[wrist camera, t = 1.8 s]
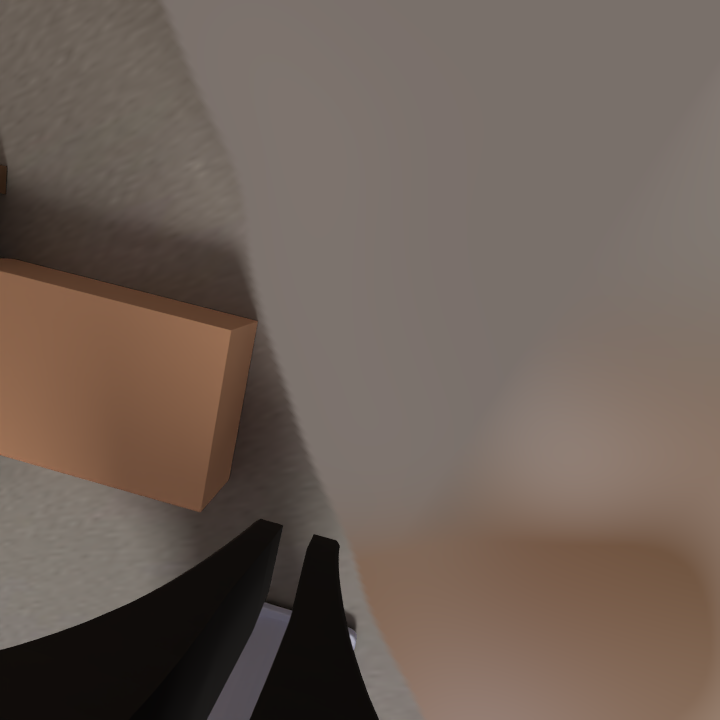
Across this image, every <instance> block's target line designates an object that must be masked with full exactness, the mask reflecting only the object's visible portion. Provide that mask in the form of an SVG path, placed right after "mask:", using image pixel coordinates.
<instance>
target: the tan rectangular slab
mask: <svg viewBox="0 0 720 720" xmlns="http://www.w3.org/2000/svg"><path fill="white" fill-rule="evenodd" d="M257 323H258V321H255V320H251V319H247V318H244V317H240V316H236V315H232V314H228V313H224V312H220V311H216V310H212V309H208V308H204V307H200V306H196V305H193V304H189V303H185V302H181V301H177V300H173V299H169V298H165V297H161V296H157V295H153V294H149V293H145V292H142V291H138V290H134V289H130V288H126V287H122V286H118V285H114V284H110V283H106V282H102V281H98V280H94V279H90V278H87V277H83V276H79V275H75V274H71V273H67V272H63V271H59V270H55V269H51V268H47V267H43V266H39V265H36V264H32V263H28V262H24V261H20V260H16V259H5V258H0V455H2V456H5V457H9V458H12V459H16V460H19V461H23V462H26V463H30V464H33V465H37V466H40V467H44V468H47V469H51V470H54V471H58V472H61V473H65V474H68V475H72V476H75V477H79V478H82V479H86V480H89V481H93V482H96V483H100V484H103V485H107V486H110V487H114V488H117V489H121V490H124V491H127V492H131V493H134V494H138V495H141V496H145V497H148V498H152V499H155V500H159V501H162V502H166V503H169V504H173V505H176V506H180V507H183V508H187V509H190V510H194V511H197V512H201V511H202V510H203V509H204V508H205V507H206V505H207V504H208V503H209V502H210V501H211V500H212V499H213V497H214V496H215V495H216V494H217V493H218V492H219V491H220V489H221V488H222V487H223V486H224V485H225V484H226V482H227V481H228V480H229V477H230V471H231V466H232V460H233V455H234V450H235V444H236V439H237V433H238V428H239V422H240V417H241V411H242V406H243V400H244V395H245V389H246V384H247V378H248V373H249V367H250V362H251V356H252V351H253V345H254V340H255V334H256V329H257Z"/></svg>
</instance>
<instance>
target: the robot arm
mask: <svg viewBox="0 0 720 720" xmlns="http://www.w3.org/2000/svg"><path fill="white" fill-rule="evenodd" d="M282 528H283V525H280V524H277V523H273V522H270V521H266V520H263V519H260V520H258V521H256V522H255V523H253V524H252V525H251V526H250V527H248V528H247V529H246V530H245V531H243V532H242V533H241V534H240V535H238V536H237V537H236V538H234V539H233V540H232V541H230V542H229V543H228V544H226V545H225V546H224V547H222V548H221V549H219V550H218V551H217V552H215V553H214V554H212V555H211V556H210V557H208V558H207V559H205V560H204V561H202V562H201V563H199V564H198V565H196V566H195V567H193V568H191V569H190V570H188V571H187V572H185V573H183V574H182V575H180V576H179V577H177V578H175V579H174V580H172V581H170V582H169V583H167V584H165V585H163V586H162V587H160V588H158V589H156V590H154V591H152V592H151V593H149V594H147V595H145V596H143V597H141V598H139V599H137V600H135V601H133V602H131V603H129V604H127V605H124V606H122V607H120V608H118V609H115V610H113V611H111V612H108V613H106V614H104V615H101V616H99V617H97V618H94V619H92V620H90V621H87V622H85V623H82V624H79V625H77V626H74V627H71V628H68V629H66V630H63V631H60V632H57V633H54V634H51V635H48V636H45V637H42V638H39V639H36V640H33V641H30V642H27V643H24V644H20V645H17V646H14V647H10V648H6V649H3V650H0V720H379V719H378V716H377V714H376V712H375V709H374V707H373V705H372V702H371V700H370V698H369V695H368V692H367V690H366V687H365V684H364V681H363V678H362V676H361V673H360V670H359V666H358V663H357V660H356V657H355V654H354V648H355V644H356V639H357V635H356V633H355V631H354V630H353V629H351V628H349V627H348V626H347V622H346V617H345V612H344V607H343V601H342V594H341V588H340V579H339V548H340V545H339V544H338V542H337V541H336V540H333V539H329V538H326V537H322V536H319V535H315V534H314V535H313V537H312V539H311V541H310V543H309V546H308V548H307V551H306V555H305V559H304V563H303V567H302V572H301V576H300V580H299V584H298V589H297V593H296V597H295V601H294V606H293V610H288V609H285V608H282V607H278V606H275V605H271V604H268V603H265V599H266V597H267V594H268V592H269V587H270V582H271V578H272V573H273V569H274V564H275V560H276V555H277V550H278V546H279V541H280V537H281V532H282Z"/></svg>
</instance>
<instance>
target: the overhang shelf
mask: <svg viewBox="0 0 720 720" xmlns="http://www.w3.org/2000/svg"><path fill="white" fill-rule="evenodd" d="M6 176H7V166H3V165H0V193H2V194H6Z"/></svg>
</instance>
